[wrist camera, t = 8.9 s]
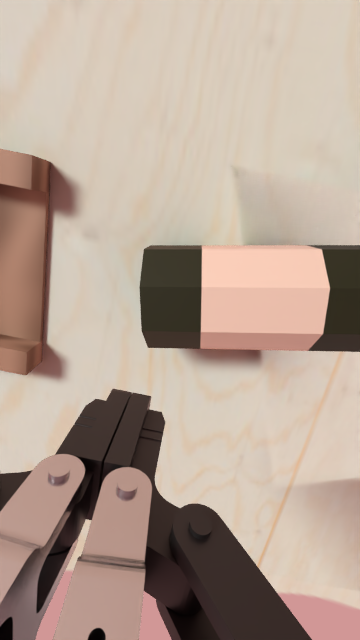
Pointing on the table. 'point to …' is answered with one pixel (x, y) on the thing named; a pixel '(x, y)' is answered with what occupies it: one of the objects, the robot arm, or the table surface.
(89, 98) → the table surface
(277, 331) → the wine bottle
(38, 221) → the u rest
